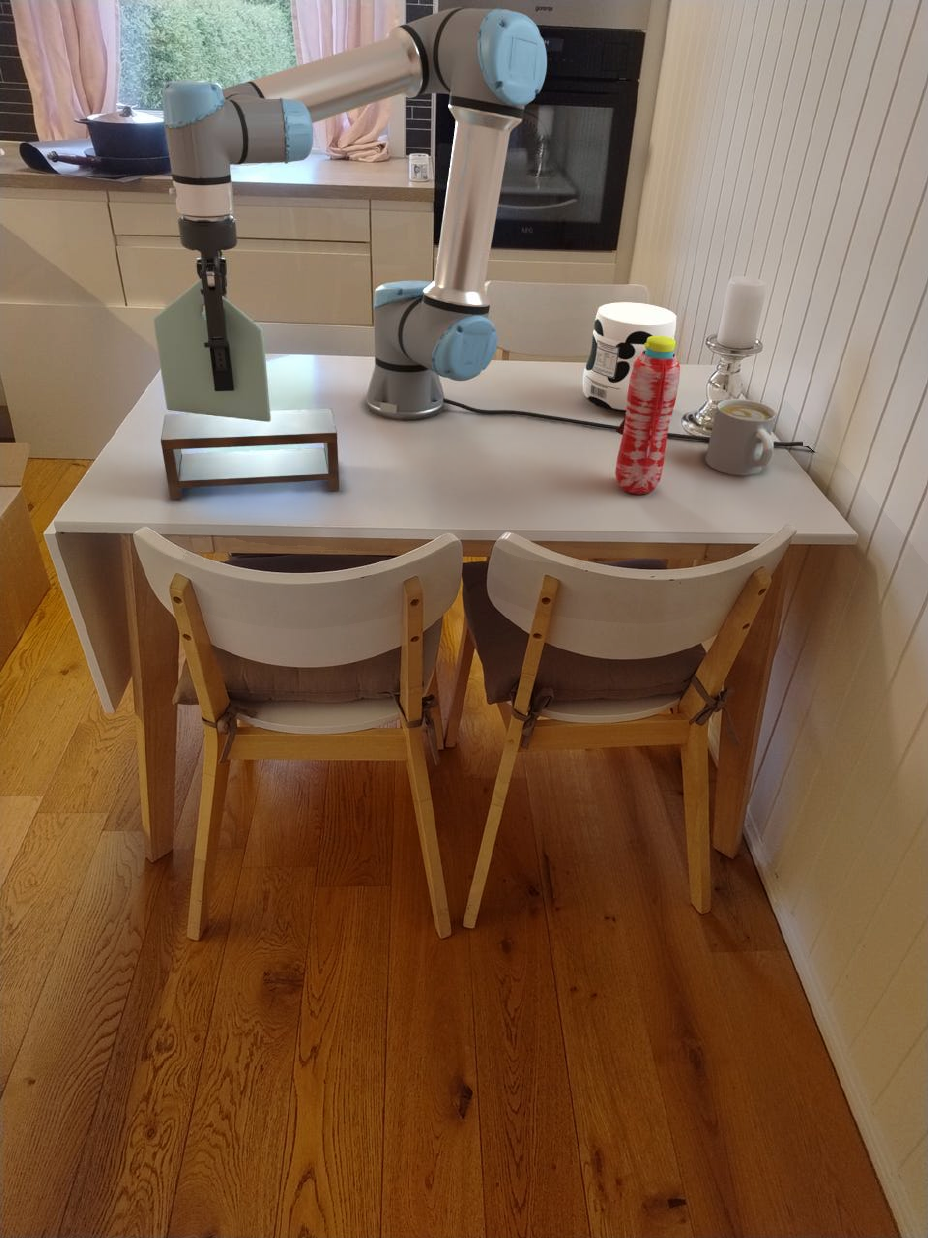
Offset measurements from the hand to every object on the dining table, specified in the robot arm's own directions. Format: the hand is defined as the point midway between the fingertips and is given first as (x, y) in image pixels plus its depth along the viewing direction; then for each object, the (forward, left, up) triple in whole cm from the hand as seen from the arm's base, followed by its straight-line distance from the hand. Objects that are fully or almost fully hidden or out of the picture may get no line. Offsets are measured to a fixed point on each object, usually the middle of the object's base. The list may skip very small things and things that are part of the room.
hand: (224, 378), depth 131 cm
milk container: (-76, -27, -17) cm, 82 cm away
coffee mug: (-86, +4, -17) cm, 88 cm away
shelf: (-3, 0, -17) cm, 17 cm away
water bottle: (-65, +8, -17) cm, 68 cm away
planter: (0, -1, -5) cm, 5 cm away
